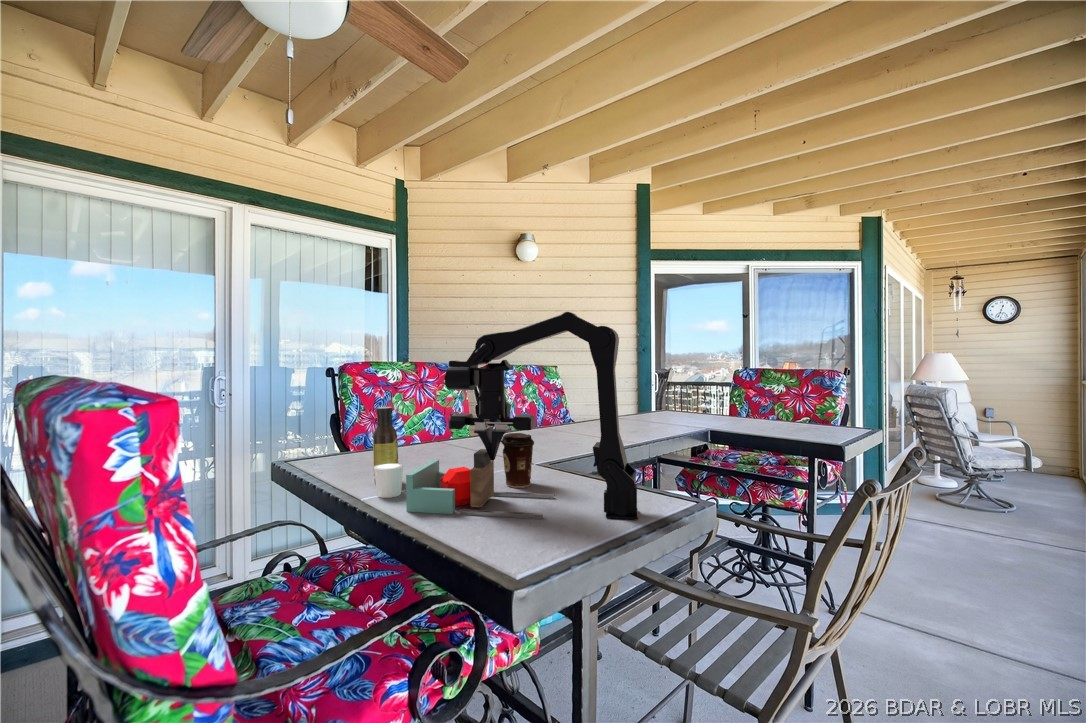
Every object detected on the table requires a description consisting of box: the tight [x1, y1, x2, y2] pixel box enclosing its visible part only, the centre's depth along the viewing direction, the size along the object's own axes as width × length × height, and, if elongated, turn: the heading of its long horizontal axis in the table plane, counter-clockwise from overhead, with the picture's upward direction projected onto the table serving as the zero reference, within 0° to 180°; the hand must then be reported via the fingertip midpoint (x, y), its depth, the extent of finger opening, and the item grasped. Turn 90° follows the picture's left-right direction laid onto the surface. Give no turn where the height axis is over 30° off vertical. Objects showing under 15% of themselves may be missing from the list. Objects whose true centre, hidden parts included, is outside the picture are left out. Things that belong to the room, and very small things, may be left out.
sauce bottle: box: [372, 406, 399, 484], centre depth 132 cm, size 6×6×20 cm
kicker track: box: [458, 491, 555, 520], centre depth 112 cm, size 18×15×1 cm
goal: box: [405, 459, 456, 515], centre depth 114 cm, size 10×15×8 cm
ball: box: [441, 466, 472, 507], centre depth 114 cm, size 8×8×8 cm
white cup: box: [373, 462, 404, 499], centre depth 121 cm, size 7×7×7 cm
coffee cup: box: [500, 432, 535, 489], centre depth 129 cm, size 9×8×13 cm
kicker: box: [470, 448, 495, 508], centre depth 113 cm, size 2×10×11 cm, turn 170°
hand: (492, 459), depth 112 cm, fingers closed
